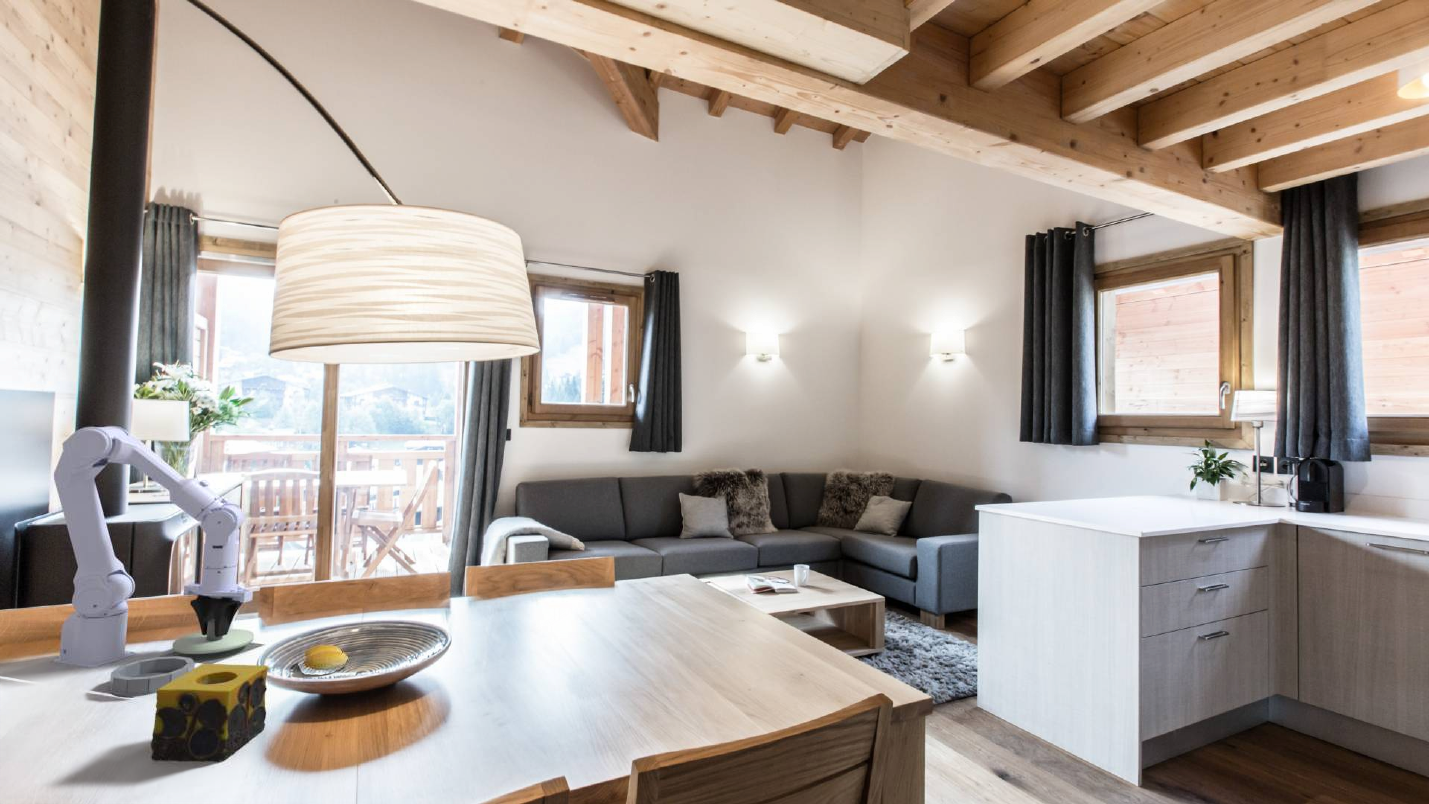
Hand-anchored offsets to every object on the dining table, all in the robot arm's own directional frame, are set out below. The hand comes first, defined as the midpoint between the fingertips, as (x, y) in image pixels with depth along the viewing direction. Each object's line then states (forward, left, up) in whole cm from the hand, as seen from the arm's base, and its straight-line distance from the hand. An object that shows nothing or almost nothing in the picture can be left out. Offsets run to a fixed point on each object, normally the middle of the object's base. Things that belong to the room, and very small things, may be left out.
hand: (214, 634), depth 135 cm
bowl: (+5, -16, -4) cm, 17 cm away
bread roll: (+25, 0, -4) cm, 25 cm away
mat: (0, 0, -4) cm, 4 cm away
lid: (0, 0, -2) cm, 2 cm away
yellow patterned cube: (+33, -30, -4) cm, 45 cm away
